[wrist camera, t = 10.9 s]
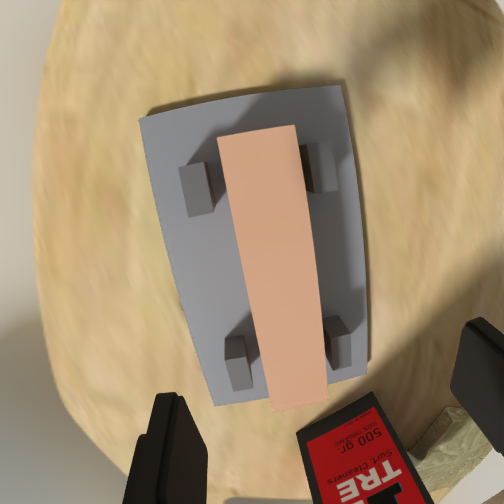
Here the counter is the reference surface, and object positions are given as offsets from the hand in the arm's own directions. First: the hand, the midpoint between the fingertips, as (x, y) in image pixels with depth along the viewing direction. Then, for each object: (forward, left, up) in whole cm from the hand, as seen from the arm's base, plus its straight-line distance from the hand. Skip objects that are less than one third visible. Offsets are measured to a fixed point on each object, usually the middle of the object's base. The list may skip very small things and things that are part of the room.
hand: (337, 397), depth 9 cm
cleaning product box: (+26, +7, -16) cm, 31 cm away
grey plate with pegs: (+1, 0, -15) cm, 15 cm away
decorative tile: (+36, +23, -16) cm, 46 cm away
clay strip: (0, 0, -14) cm, 14 cm away
